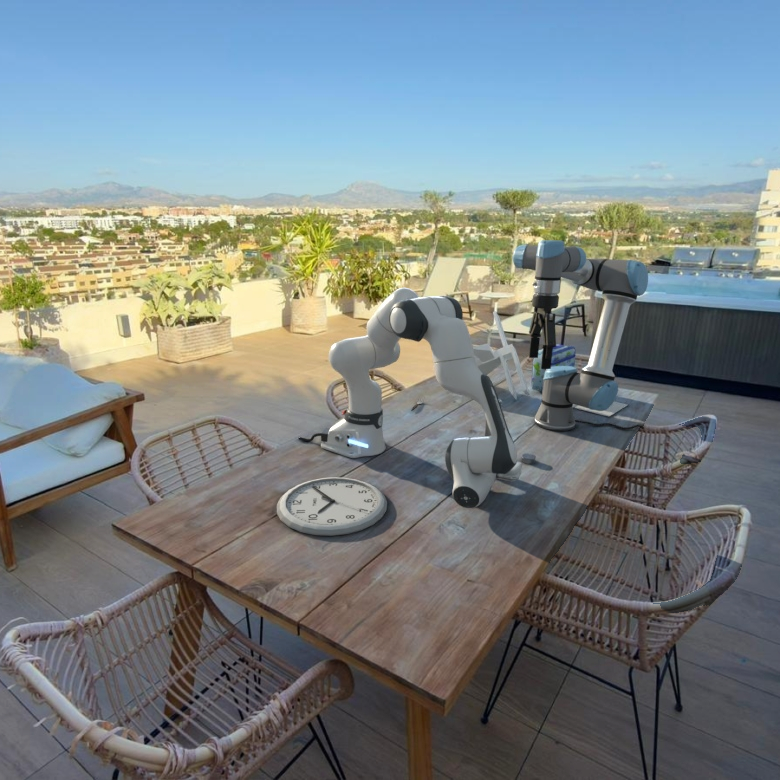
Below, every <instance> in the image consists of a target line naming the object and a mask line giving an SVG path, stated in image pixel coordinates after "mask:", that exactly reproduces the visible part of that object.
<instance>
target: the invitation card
mask: <svg viewBox="0 0 780 780" xmlns="http://www.w3.org/2000/svg"><path fill="white" fill-rule="evenodd" d="M628 406H629V404H627V403H623V402H618V401H614V402H613V403H612V405H611V406H610V407H609V408H608V409H606V410H604V411H598V410H592V409H589V408H586V407H582V406H579V405H575V406H574V407H573V409H575V410H581V411H584V412H587V413H593V414H596V415H600V416H604V417H608V418H609V417H611V416H613V415H614V414H616V413H617V412H619V411H621V410H623V409H624V408H626V407H628Z"/></svg>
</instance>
